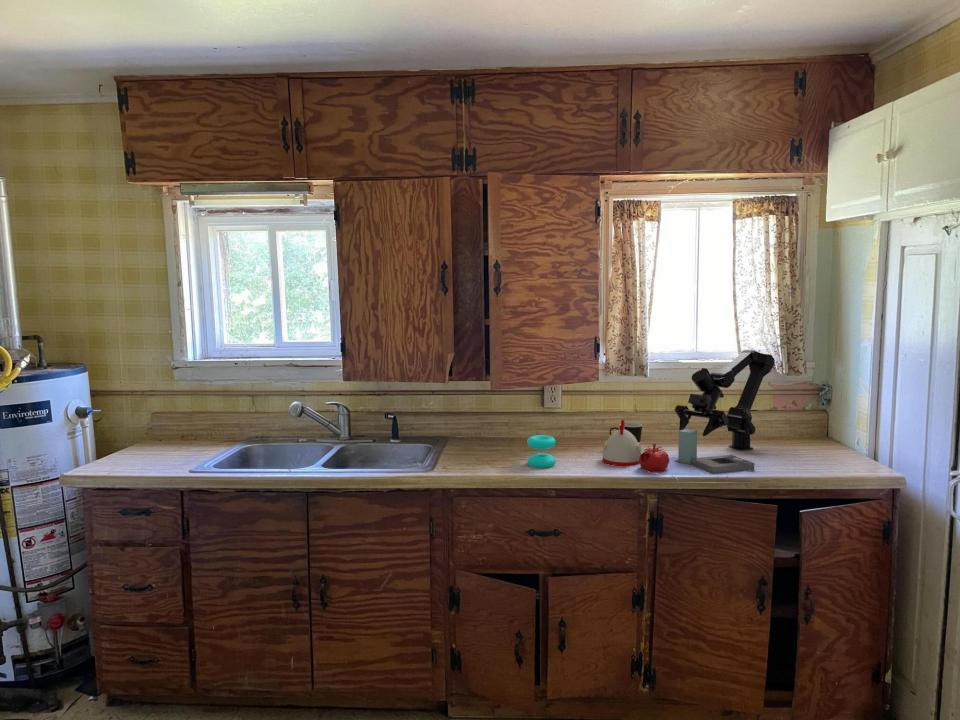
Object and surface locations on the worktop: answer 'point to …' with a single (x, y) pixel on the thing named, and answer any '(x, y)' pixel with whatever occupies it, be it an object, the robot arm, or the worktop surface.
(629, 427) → the coffee mug
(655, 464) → the pomegranate
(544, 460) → the donuts
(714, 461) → the plate
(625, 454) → the kitchen timer
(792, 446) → the worktop surface
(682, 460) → the block
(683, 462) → the mat
